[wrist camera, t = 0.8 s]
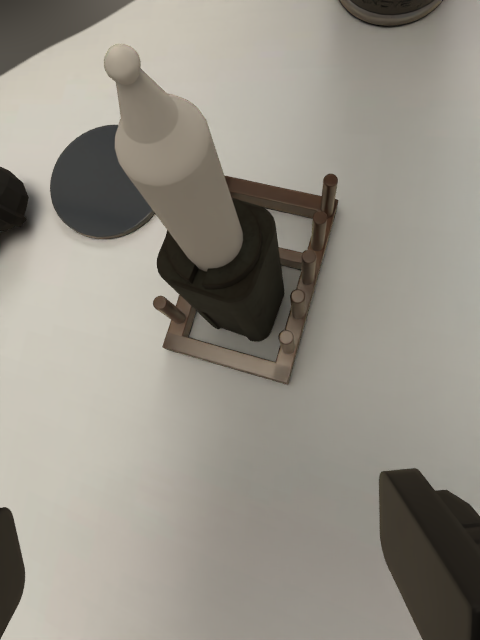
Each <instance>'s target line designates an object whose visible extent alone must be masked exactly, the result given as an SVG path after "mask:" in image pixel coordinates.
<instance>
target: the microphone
mask: <svg viewBox="0 0 480 640" xmlns="http://www.w3.org/2000/svg"><path fill="white" fill-rule="evenodd" d="M28 198H29V197H28V195H27V192H26V190H25V187H24V185H23V183H22V182H21V181H20V180H19V179H18V178H17V177H16V176H15V175H14V174H12V173H11V172H10V171H9V170H6V169H4V168H2V167H0V231H7V230H9V229H11V228H13V227H14V226H18V227H21V226H22V225H23V223H24V222H25V221H26V218H25V216H24V213H25V211H26V208H27V204H28Z"/></svg>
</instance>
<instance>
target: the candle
mask: <svg viewBox="0 0 480 640" xmlns="http://www.w3.org/2000/svg"><path fill="white" fill-rule="evenodd" d="M104 67H105V71H106V72H107V74H108V76H109V77H110V78H112V79H113V80H114V81H116V86H117V93H118V100H119V107H120V114H121V119H120V122H119V125H118V128H117V132H116V135H115V151H116V154H117V158H118V162H119V164H120V165H121V167H122V168H123V170H124V172H125V173H126V174H127V176H128V177H129V178H130V180H131V181H132V183H133V184H134V185H135V187H136V188H137V189H138V191H139V192H140V193H141V195H142V196H143V197H144V199H145V200H146V201H147V203H148V204H149V206H150V207H151V208H152V210H153V211H154V212H155V214H156V215H157V216H158V218H159V219H160V220H161V222H162V223H163V225H164V226H165V227H166V229H167V234H166V237H165V240H164V242H163V245H162V247H161V249H160V252H159V254H158V258H157V268H158V272H159V274H160V275H161V277H162V278H163V279H164V280H165V281H166V282H167V283H168V284H169V285H170V286H171V287H172V288H173V289H174V290H175V291H176V292H177V293H179V294H180V295H181V296H182V297H183V298H184V299H185V300H186V301H187V302H188V303H189V304H190V305H191V306H192V307H193V308H194V309H195V310H196V311H197V312H198V313H199V314H200V315H202V316H203V317H204V318H205V319H206V320H207V321H208V322H209V323H210V324H211V325H212V326H213V327H215V328H217V329H220V328H224V329H226V330H229V331H232V332H235V333H238V334H241V335H244V336H246V337H248V339H249V340H250V341H261V340H264V339H265V338H267V337H268V336H269V334H270V332H271V330H272V328H273V325H274V322H275V319H276V317H277V314H278V311H279V308H280V306H281V303H282V300H283V297H284V285H283V277H282V270H281V263H280V255H279V248H278V241H277V233H276V226H275V221H274V218H273V216H272V215H271V213H270V212H269V211H268V210H266V209H265V208H263V207H261V206H259V205H255V204H252V203H248V202H245V201H242V200H238V199H236V198H231V195H230V192H229V189H228V186H227V183H226V180H225V177H224V173H223V170H222V167H221V164H220V161H219V158H218V155H217V152H216V149H215V146H214V143H213V140H212V137H211V134H210V131H209V127H208V124H207V121H206V119H205V118H204V116H203V115H202V113H201V112H200V111H199V109H198V108H197V107H196V106H195V105H193V104H192V103H191V102H190V101H188V100H186V99H183V98H181V97H178V96H175V95H172V94H167V93H166V92H165V91H164V90H163V89H162V88H161V87H160V86H159V85H157V84H156V83H155V82H154V81H153V80H152V79H151V78H150V77H149V76H148V75H147V74H146V73H145V72H144V71H143V70H142V69H141V68H140V58H139V55H138V53H137V52H136V51H135V50H134V49H133V48H132V47H130V46H128V45H125V44H115V45H113V46H111V47H110V48H109V50H108V51H107V53H106V55H105V58H104Z"/></svg>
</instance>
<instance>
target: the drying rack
mask: <svg viewBox="0 0 480 640" xmlns="http://www.w3.org/2000/svg"><path fill="white" fill-rule="evenodd" d="M224 177H225V180H226V183H227V186H228V189H229V192H230V195H231V198H236V199H238V200H242V201H245V202H248V203H252V204H255V205H259V206H261V207H265V208H269V209H274V210H278V211H283V212H287V213H292V214H296V215H301V216H305V217H310V218H313V221H312V236H311V239H310V243H309V246H308V250H306V251H304V252H303V253H301V252H297V251H292V250H288V249H284V248H280V247H278V248H279V255H280V263H281V265H284V266H288V267H292V268H296V269H300V270H302V271H301V274H300V278H299V281H298V285H297V288H296V290H294V291H292V293H291V295H290V299H291V309H290V313H289V316H288V320H287V323H286V327H285V330H283V331H282V332H281V333H280V334H279V341H280V344H281V345H280V348H279V352H278V355H277V359H276V362H273V361H269V360H266V359H262V358H259V357H255V356H252V355H248V354H245V353H241V352H238V351H234V350H231V349H227V348H224V347H220V346H217V345H213V344H209V343H206V342H202V341H199V340H195V339H192V338H188V336H189V332H190V329H191V326H192V323H193V320H194V317H195V313H196V310H195V309H194V308H193V307H192V306H191V305H190V304H189V303H188V302H187V301H186V300H185V299H184V298H183V297H182V296H181V295H179V298H178V301H177V304H176V306H174V305H173V304H172V303H171V302H170V301H168V300H167V299H166V298H165V297H163V296H158V297H156V298H155V299H154V301H153V305H154V307H155V308H156V309H157V310H158V311H160V312H161V313H163V314H164V315H166V316H167V317H168V318H170V319H171V323H170V326H169V329H168V332H167V334H166V337H165V341H164V344H163V348H165V349H168V350H170V351H174V352H177V353H181V354H184V355H187V356H191V357H194V358H198V359H201V360H205V361H208V362H211V363H215V364H218V365H222V366H225V367H229V368H232V369H235V370H239V371H242V372H246V373H249V374H253V375H256V376H259V377H263V378H266V379H270V380H273V381H276V382H280V383H283V384H287V385H288V383H289V380H290V376H291V372H292V369H293V365H294V361H295V358H296V354H297V351H298V347H299V343H300V340H301V336H302V333H303V329H304V325H305V322H306V318H307V315H308V311H309V307H310V304H311V300H312V297H313V293H314V289H315V286H316V282H317V279H318V275H319V271H320V268H321V264H322V261H323V257H324V253H325V250H326V246H327V243H328V239H329V235H330V232H331V228H332V225H333V221H334V217H335V214H336V210H337V205H338V200H337V199H335V195H336V189H337V183H338V178H337V177H336V176H335V175H334V174H328V175H326V176H325V177H324V180H323V189H322V196H318V195H313V194H308V193H304V192H299V191H294V190H290V189H285V188H280V187H276V186H271V185H266V184H262V183H257V182H252V181H248V180H243V179H238V178H233V177H229V176H224Z"/></svg>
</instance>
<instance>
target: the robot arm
mask: <svg viewBox="0 0 480 640" xmlns="http://www.w3.org/2000/svg"><path fill="white" fill-rule="evenodd" d="M340 1H341V3H342V4H343V6H344V7H345V8H346V9H347V10H348V11H349V12H350V13H351V14H353V15H354V16H355V17H357V18H359V19H361V20H363V21H366V22H368V23H372V24H377V25H385V26H392V25H401V24H406V23H410V22H413V21H415V20H418V19H420V18H422V17H424V16H425V15H427V14H429V13H430V12H431V11H433V10H434V9H435V8H436V7H437V6H438V5H439V4H440V3H441V2H442V0H340ZM379 512H380V540H381V546H382V551H383V554H384V558H385V561H386V564H387V566H388V568H389V570H390V572H391V574H392V576H393V579H394V581H395V583H396V585H397V587H398V589H399V591H400V593H401V595H402V597H403V600H404V602H405V604H406V606H407V608H408V610H409V612H410V614H411V616H412V618H413V621H414V623H415V625H416V627H417V629H418V631H419V633H420V635H421V637H422V639H423V640H480V516H479V515H478V514H477V512H476V511H475V510H474V509H473V508H472V507H471V505H470V504H468V503H467V502H465V501H464V500H462V499H460V498H459V497H457V496H456V495H454V494H452V493H451V492H449V491H448V490H440V491H435V490H434V489H433V488H432V486H431V485H430V484H429V482H428V481H427V480H426V479H425V477H424V476H423V475H422V473H421V472H420V471H419V470H418V469H416V468H412V469H401V470H391V471H382V472H381V473H380V477H379ZM24 583H25V568H24V563H23V559H22V554H21V550H20V545H19V541H18V536H17V532H16V527H15V523H14V518H13V515H12V513H11V511H10V510H9V509H8V508H6V507H3V508H0V639H1V637H2V635H3V633H4V631H5V629H6V627H7V625H8V623H9V621H10V620H11V618H12V616H13V614H14V612H15V610H16V608H17V606H18V604H19V602H20V600H21V597H22V594H23V589H24Z"/></svg>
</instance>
